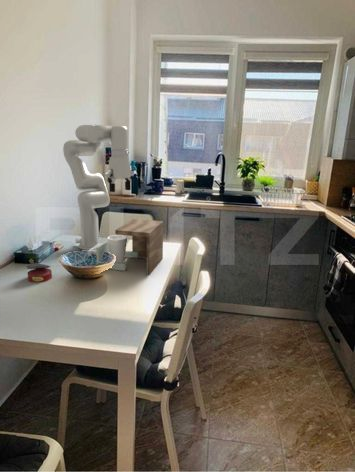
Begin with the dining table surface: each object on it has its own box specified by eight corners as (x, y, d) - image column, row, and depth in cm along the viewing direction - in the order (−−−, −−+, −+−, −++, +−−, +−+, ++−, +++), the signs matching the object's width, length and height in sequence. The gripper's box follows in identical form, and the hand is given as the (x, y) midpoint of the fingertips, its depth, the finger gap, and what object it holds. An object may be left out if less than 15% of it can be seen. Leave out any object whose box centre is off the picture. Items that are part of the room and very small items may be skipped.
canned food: (28, 290, 155) (17, 269, 154) (46, 280, 164) (35, 261, 163) (43, 284, 149) (31, 262, 148) (60, 274, 157) (50, 254, 156)
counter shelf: (116, 271, 166) (115, 230, 161) (133, 256, 189) (132, 219, 184) (149, 275, 163) (149, 232, 158) (162, 258, 186) (163, 221, 180)
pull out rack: (85, 266, 171) (84, 246, 169) (102, 253, 190) (101, 235, 187) (124, 270, 167) (124, 250, 165) (138, 257, 186) (138, 238, 184)
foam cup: (117, 267, 172) (116, 241, 168) (104, 263, 177) (103, 237, 174) (131, 262, 179) (130, 237, 176) (118, 258, 185) (117, 234, 181)
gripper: (127, 153, 174) (128, 188, 179) (99, 153, 161) (100, 191, 166) (138, 154, 169) (138, 190, 174) (110, 154, 157) (111, 193, 161)
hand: (120, 190), depth 170 cm, fingers open, 9 cm apart
